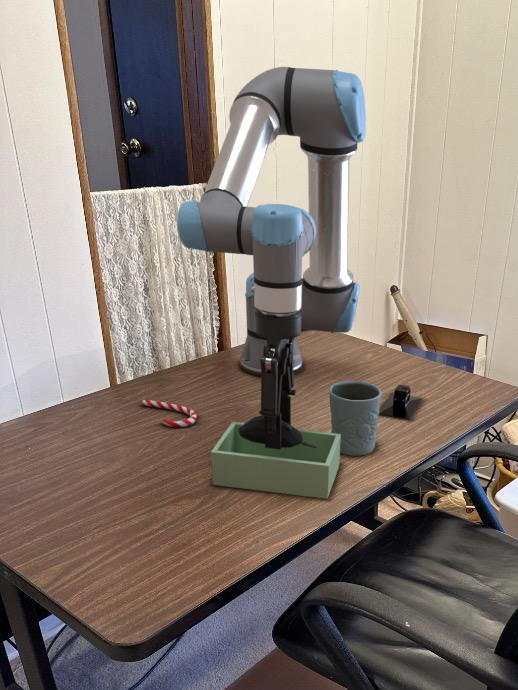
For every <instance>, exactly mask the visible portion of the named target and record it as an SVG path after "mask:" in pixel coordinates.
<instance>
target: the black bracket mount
mask: <svg viewBox="0 0 518 690" xmlns="http://www.w3.org/2000/svg"><path fill="white" fill-rule="evenodd" d="M411 387H412V386H409V385H404V384H397V386H396V387H395V389H394V393H392V394H391V395H390V397H389V398H388V400H387V401H386V403H385V404H384V405H383V407H382V408H381V409H379V415H380V416H385V417H389V418H395V419H401V420H407V421H410V420H411V418H412V417H413V415H414V413H415V412H416V410H417V408H418V407H419V406H420V404H421V402H422V401H423V397H417V396H411ZM379 415H378V416H379Z"/></svg>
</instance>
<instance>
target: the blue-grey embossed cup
mask: <svg viewBox="0 0 518 690" xmlns="http://www.w3.org/2000/svg"><path fill="white" fill-rule="evenodd" d="M328 393H329V409H330V418H331V420H330V425H331V432H330V433H334V434H341V439H340V455H345V456H354V457H355V456H357V457H358V456H365V455H368V454H370V453H372V452H373V451H374V449H375V446H376V439H377V428H378V422H379V421H378V417H379V411H380V406H381V401H382V400H381V399H382V393H383V392H382V389H380V387H378V386H377V385H375V384H373V383H370V382H366V381H361V380H345V381H339V382H336V383H334V384H332V385H331V386H330V387H329V389H328Z"/></svg>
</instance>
